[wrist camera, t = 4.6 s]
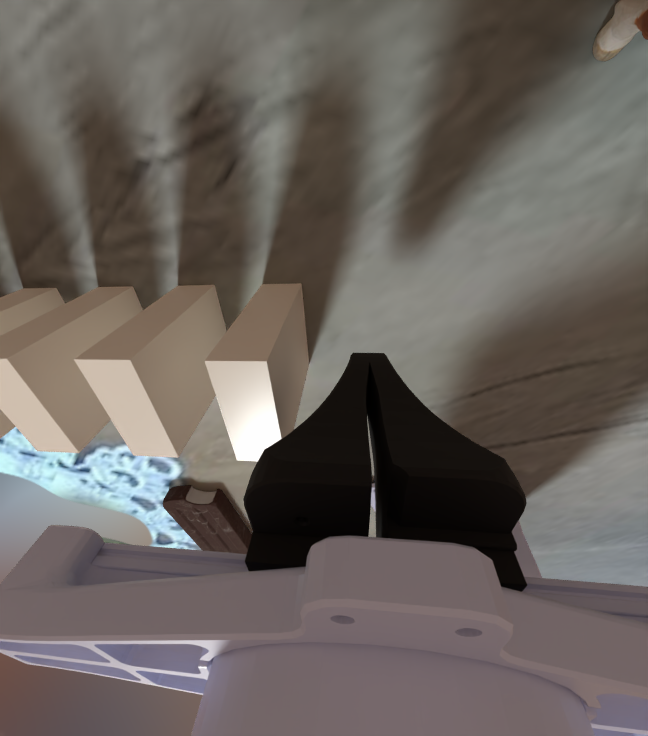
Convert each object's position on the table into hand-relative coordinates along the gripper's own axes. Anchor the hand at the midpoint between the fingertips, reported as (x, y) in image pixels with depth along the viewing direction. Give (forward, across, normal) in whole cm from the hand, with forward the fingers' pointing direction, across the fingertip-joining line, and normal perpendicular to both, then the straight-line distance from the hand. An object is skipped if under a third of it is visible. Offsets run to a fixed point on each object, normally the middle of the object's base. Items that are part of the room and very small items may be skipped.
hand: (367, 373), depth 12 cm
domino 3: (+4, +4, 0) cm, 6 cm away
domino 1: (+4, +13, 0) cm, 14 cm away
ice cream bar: (+5, +13, +23) cm, 27 cm away
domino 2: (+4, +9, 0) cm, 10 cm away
